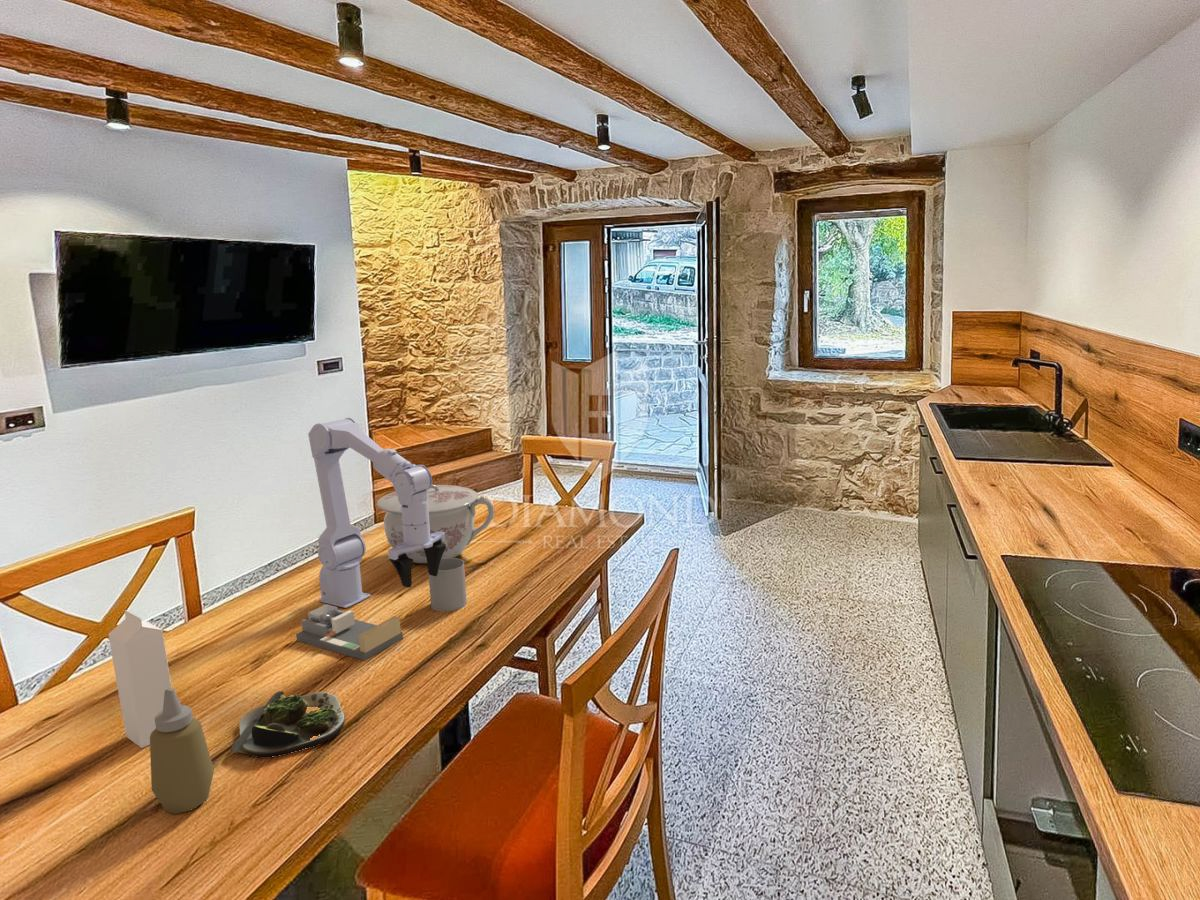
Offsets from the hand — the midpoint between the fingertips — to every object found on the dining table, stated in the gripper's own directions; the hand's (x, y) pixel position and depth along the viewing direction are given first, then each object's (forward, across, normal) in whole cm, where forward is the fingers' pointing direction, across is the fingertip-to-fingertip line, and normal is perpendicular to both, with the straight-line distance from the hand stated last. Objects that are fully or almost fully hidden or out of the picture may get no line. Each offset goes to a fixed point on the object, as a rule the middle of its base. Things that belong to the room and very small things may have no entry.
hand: (420, 580), depth 168 cm
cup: (+10, +10, +2) cm, 15 cm away
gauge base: (+10, -14, +7) cm, 19 cm away
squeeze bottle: (+10, -61, -17) cm, 64 cm away
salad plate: (+10, -42, -13) cm, 45 cm away
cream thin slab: (+8, -16, +8) cm, 19 cm away
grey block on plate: (+8, -15, +13) cm, 21 cm away
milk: (+10, -56, +6) cm, 57 cm away
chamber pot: (+10, +31, +31) cm, 45 cm away
